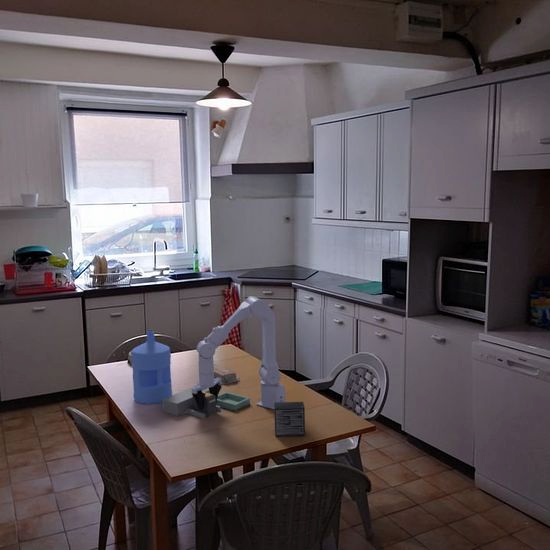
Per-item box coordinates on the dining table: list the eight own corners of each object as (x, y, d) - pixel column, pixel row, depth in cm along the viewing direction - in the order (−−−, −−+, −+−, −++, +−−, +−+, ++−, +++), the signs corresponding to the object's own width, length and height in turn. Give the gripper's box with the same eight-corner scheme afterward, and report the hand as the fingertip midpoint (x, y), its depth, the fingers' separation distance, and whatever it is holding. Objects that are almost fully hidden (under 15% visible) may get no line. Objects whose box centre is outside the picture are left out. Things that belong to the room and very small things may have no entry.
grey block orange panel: (217, 412, 222) (216, 394, 221) (209, 416, 219) (208, 398, 218) (201, 408, 227) (200, 390, 226) (193, 411, 224) (192, 393, 223)
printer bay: (227, 406, 228) (227, 394, 227) (195, 421, 214) (195, 408, 213) (195, 397, 238) (195, 386, 237) (163, 411, 224) (162, 399, 223)
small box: (303, 428, 207) (303, 400, 205) (305, 436, 200) (305, 407, 199) (274, 429, 206) (274, 401, 205) (275, 437, 200) (274, 408, 198)
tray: (250, 404, 231) (249, 398, 231) (235, 411, 224) (235, 404, 223) (226, 397, 238) (226, 391, 238) (211, 404, 231) (211, 398, 231)
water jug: (127, 397, 240) (123, 331, 236) (160, 388, 250) (158, 325, 246) (144, 407, 228) (141, 339, 224) (179, 398, 238) (177, 332, 234)
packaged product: (240, 371, 259) (221, 375, 253) (240, 381, 259) (221, 386, 254) (220, 361, 273) (201, 365, 268) (220, 371, 274) (201, 375, 268)
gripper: (211, 365, 228) (212, 398, 230) (185, 375, 216) (186, 409, 218) (224, 368, 224) (225, 402, 226) (198, 378, 212) (199, 413, 214)
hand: (207, 406), depth 222 cm, fingers open, 7 cm apart
